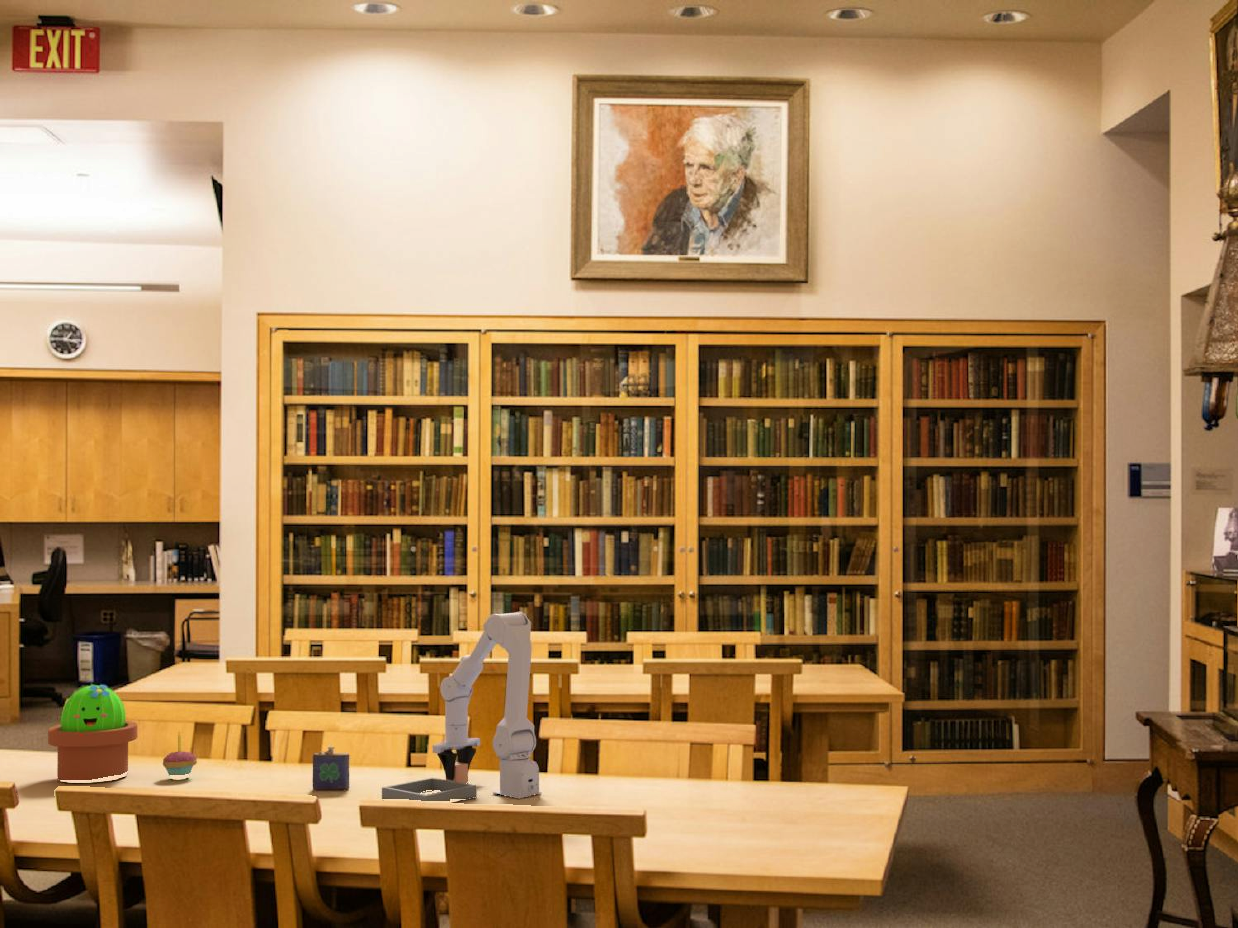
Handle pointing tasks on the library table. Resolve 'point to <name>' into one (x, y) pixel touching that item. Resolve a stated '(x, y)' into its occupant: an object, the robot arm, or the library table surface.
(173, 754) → the cupcake
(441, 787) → the bin
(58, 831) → the library table surface
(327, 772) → the flask
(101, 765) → the potted cactus
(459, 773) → the block
